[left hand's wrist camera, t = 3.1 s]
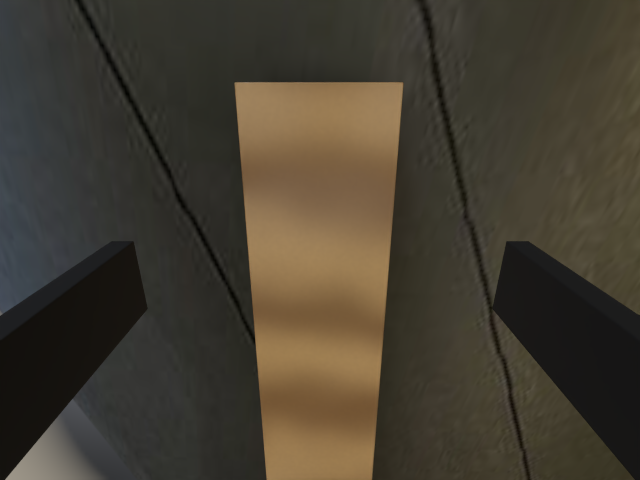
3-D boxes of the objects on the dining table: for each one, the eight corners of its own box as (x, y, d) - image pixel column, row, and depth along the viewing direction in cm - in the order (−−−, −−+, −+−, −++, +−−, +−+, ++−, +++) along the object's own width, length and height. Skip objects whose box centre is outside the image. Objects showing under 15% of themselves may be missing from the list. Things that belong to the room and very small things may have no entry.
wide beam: (257, 87, 26) (234, 82, 19) (380, 87, 26) (403, 82, 19) (288, 597, 50) (282, 678, 43) (351, 597, 50) (356, 678, 43)
